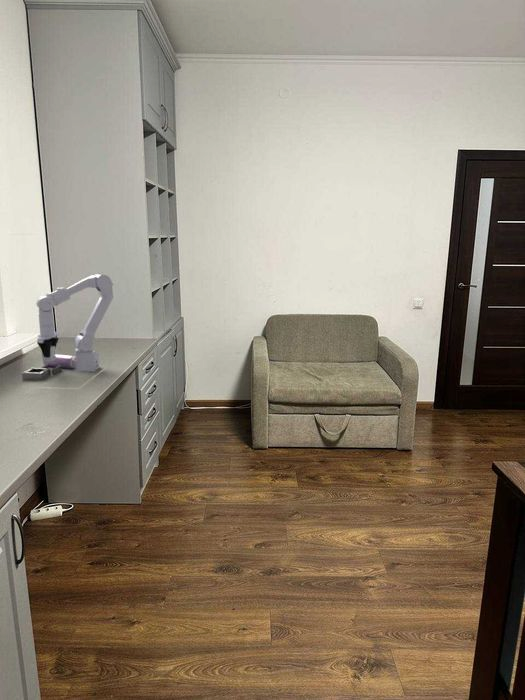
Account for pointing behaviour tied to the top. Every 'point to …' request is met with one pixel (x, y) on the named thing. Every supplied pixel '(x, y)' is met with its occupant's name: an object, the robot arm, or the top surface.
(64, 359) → the beverage can
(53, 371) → the holster
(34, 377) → the port
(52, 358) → the plug
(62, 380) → the top surface
